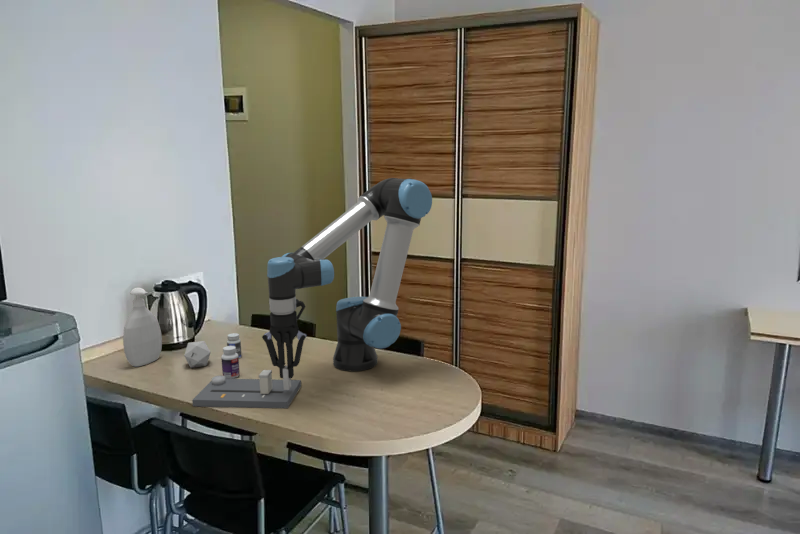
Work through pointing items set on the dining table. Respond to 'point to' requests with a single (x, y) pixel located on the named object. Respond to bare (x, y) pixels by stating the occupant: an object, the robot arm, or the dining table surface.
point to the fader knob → (265, 381)
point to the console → (245, 394)
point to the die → (197, 354)
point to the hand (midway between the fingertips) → (287, 387)
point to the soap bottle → (141, 333)
